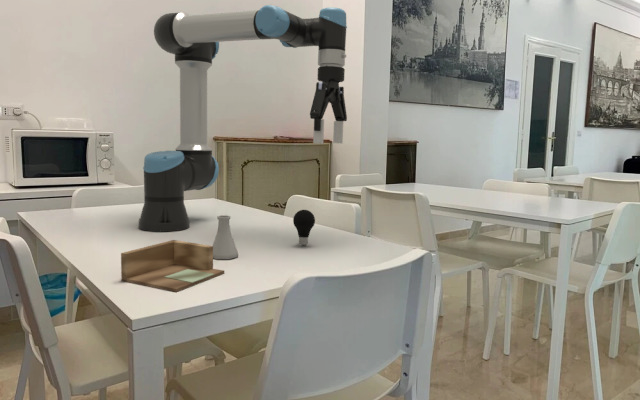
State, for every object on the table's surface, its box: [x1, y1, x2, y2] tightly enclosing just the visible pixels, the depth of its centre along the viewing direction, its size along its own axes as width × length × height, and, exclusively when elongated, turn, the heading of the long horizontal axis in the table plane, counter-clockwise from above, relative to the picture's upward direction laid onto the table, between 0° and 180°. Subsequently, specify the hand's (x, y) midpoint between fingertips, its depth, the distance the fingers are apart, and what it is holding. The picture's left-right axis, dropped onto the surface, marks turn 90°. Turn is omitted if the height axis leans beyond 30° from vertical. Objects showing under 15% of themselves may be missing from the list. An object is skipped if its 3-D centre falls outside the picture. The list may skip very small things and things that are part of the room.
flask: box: [212, 214, 239, 260], centre depth 122 cm, size 7×7×10 cm
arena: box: [120, 239, 225, 293], centre depth 104 cm, size 14×15×6 cm
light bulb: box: [292, 209, 316, 247], centre depth 136 cm, size 6×6×10 cm
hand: (328, 143), depth 143 cm, fingers open, 13 cm apart
